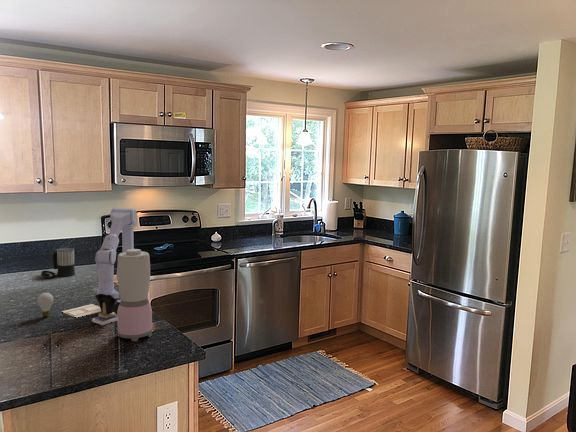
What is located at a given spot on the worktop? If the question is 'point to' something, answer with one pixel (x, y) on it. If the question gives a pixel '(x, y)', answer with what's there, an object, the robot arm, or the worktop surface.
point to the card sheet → (83, 310)
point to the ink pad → (104, 320)
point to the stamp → (104, 314)
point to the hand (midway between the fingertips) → (106, 312)
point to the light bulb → (45, 303)
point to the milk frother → (62, 263)
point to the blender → (134, 295)
